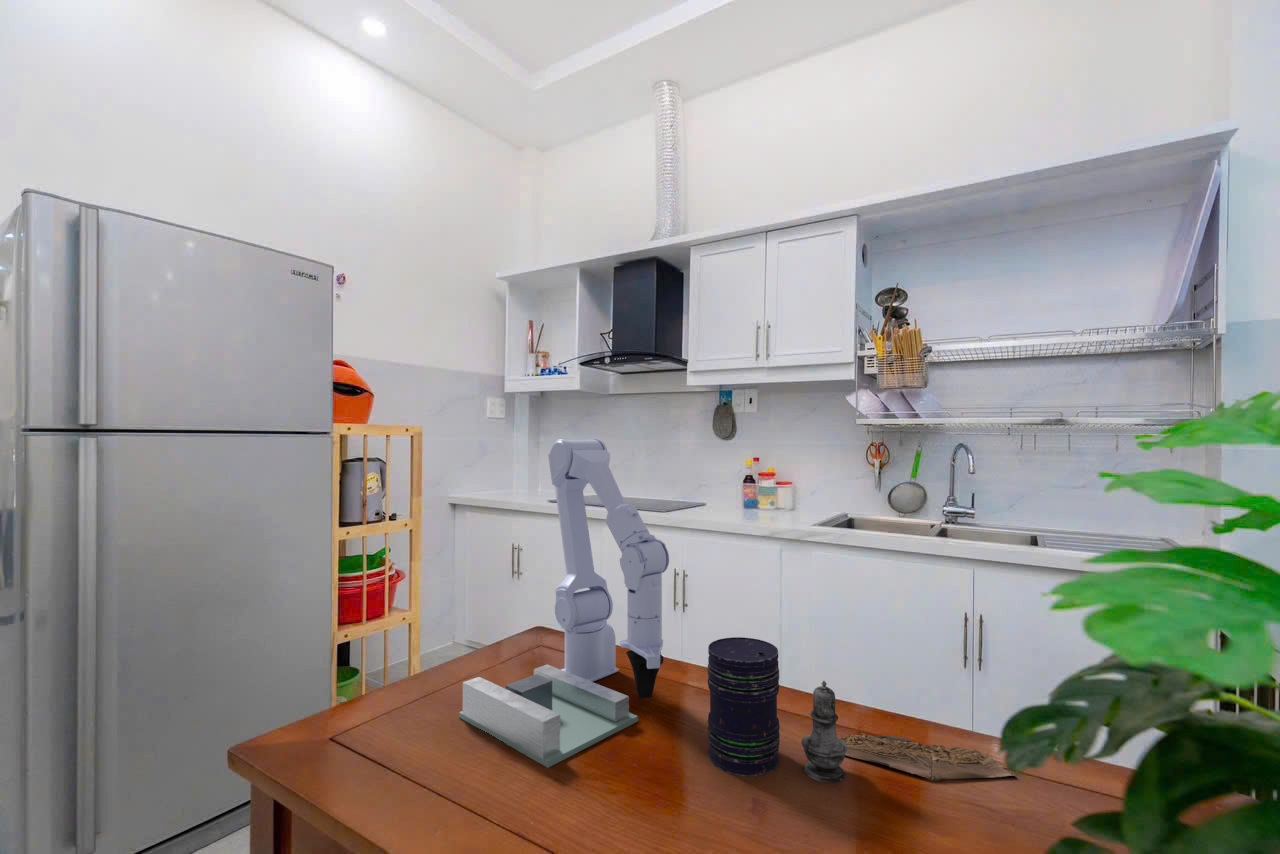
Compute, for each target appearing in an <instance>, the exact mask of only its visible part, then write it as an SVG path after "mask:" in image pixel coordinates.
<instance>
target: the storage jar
mask: <svg viewBox="0 0 1280 854" xmlns="http://www.w3.org/2000/svg"><path fill="white" fill-rule="evenodd" d="M707 651H708V657H707V659H708V661H707V662H708V663H707V677H708V678H707V686H708V687H707V688H708V690H709V712H708V716H707V717H708V718H707V725H708V726H707V739H708V758H709V760H710V762H711V763H712V764H713V766H714V767H716V768H717V769H718V770H720V771H723V772H726V773H728V774H731V775H734V776H735V775H736V776H738V777H739V776H741V777H758V776H763V775H764V776H765V775H767V774H769V773H771V772H773V771H775V770H776V768H777V767H778V766H779V764H780V763H779V762H780V755H779V751H780V744H781V741H780V740H781V738H780V730H781V729H780V728H781V727H780V725H781V724H780V719H779V717H778V695H779V692H780V690H779V689H780V682H779V681H780V669H779V649H778V647H777V646H775V645H774V644H772V643H770V642H768V641H765V640H762V639H759V638H758V639H757V638H751V637H742V636H741V637H740V636H739V637H738V636H737V637H735V636H734V637H725V638H720V639H717V640H713V641H712V642H710V643H709V644H708V649H707Z"/></svg>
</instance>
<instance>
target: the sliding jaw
mask: <svg viewBox="0 0 1280 854" xmlns="http://www.w3.org/2000/svg"><path fill="white" fill-rule="evenodd" d="M535 674H538V675H540V676H542V677H545V678H547V679H550V680H552V695H554V696H557V697H559V698H561V699H563V700H566V701H568V702H570V703H573V704H575V705H577V706H579V707H582V708H584V709H586V710H589V711H591V712H593V713H595V714H598V715H600V716H602V717H604V718H607V719H609V720H611V721H614V722H617V721H619V720H621V719H623V718H625V717H627V716H629V713H630V696H629V695H626V694H624V693H621V692H619V691H616V690H615V689H611V688H608V687H606V686H603V685H602V684H601V685H600V684H598V683H595V681H593V682H591V681H588V680H586V679H583V678H581V677H578V676H576V675H573V674H571V673H568V672H565V671H563V670H561V668H557V667H555V666H553V665H550V664H545V665H541V666H539V667H536V668H533V675H535Z"/></svg>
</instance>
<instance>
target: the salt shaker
mask: <svg viewBox="0 0 1280 854" xmlns="http://www.w3.org/2000/svg"><path fill="white" fill-rule="evenodd" d="M827 684H828V683H827V682H826V681H825V680H823V681H821V685H820V686H817V687H815V689H814V690H813V692H812V710H811V711H810V714H809V716H810V717H811V718H812V730H811V734H808V735H805V736H804V737H802V738H801V743H800V744H801V746H802V747H803V750H804V751H803V752H804V754H805V757H806V758H807V760H808V761H807V762H806V763H805V764H804V766H803V771H804V773H805V774H806V775H807V776H808V777H809V778H810V779H812V780H815V781H817V782H821V783H826V784H835V783H839V782H842V781H844V779H846V771H845V769H843V767H842V766H840V765H842V764H843V762H844V760H845V757H846V755H845V753H846V752H847V750H848V748H847V745H846V744H845V743H844V742H843V741H842V740H841V739H839V738H840V737H838V736H837V721H838V720H839V716H838V714H837V713H836V694H835V691H833V689H831V688H830V687H828V686H827Z"/></svg>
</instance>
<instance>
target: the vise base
mask: <svg viewBox="0 0 1280 854" xmlns="http://www.w3.org/2000/svg"><path fill="white" fill-rule="evenodd" d="M458 712H459V713H458V718H459V719H461V720H462V721H465V722H467V723H468V724H470V725H472V726H474V727H475V728H478V730H480V729H481V731H482V730H483V731H482V732H484V731H485V732H484V733H486V732H487V733H489V734H491V735H492V736H491V735H490V736H491V737H493V736H495V737H496V738H497V739H496V738H495V739H496V740H498V739H499V740H498V741H500V740H501V741H503V742H504V743H503V742H502V743H503V744H505V743H506V744H505V745H506V746H509V747H510V746H511V748H512V749H514V750H515V751H518V752H519V753H521V754H523V755H524V754H525V755H524V756H527V757H528V758H530V759H532V760H533V761H535V762H537V763H538V764H541V765H542V766H543V767H546V768H547V769H548V768H550V767H551V768H552V767H553V766H554V765H556V764H558V763H560V762H562V761H564V760H566V759H568V758H570V757H571V756H574V755H576V754H577V753H579V752H581V751H583V750H586V749H587V748H589V747H591V746H592V745H595V744H597V743H599V742H600V741H602V740H604V739H606V738H608V737H611V736H613V735H614V734H616V733H619V732H620V731H622V730H624V729H625V728H628V727H630V726H632V725H633V724H635V723H637V722H638V721H639V716H638V715H636V714H634V713H632V712H629V716H627V717H625V718H623V719H621V720H619V721H617V722H614V721H611V720H609V719H607V718H604V717H602V716H600V715H598V714H595V713H593V712H591V711H589V710H586V709H584V708H582V707H579V706H577V705H575V704H573V703H570V702H568V701H566V700H563V699H561V698H559V697H557V696H554V695H552V710H550V709H547V708H545V707H543V706H541V705H539V704H537V703H535V702H532V701H530V700H528V699H526V698H524V697H522V696H520V695H517V694H515V693H513V692H511V691H509V690H507V689H506V687H505V688H504V687H503V686H501V685H499V684H496V683H494V682H492V681H490V680H487V679H485V678H483V677H480V676H478V677H475V678H471V679H468V680H464V681H463V682H462V710H461V711H458ZM487 733H486V734H487ZM489 734H488V735H489ZM501 741H500V742H501Z"/></svg>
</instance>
